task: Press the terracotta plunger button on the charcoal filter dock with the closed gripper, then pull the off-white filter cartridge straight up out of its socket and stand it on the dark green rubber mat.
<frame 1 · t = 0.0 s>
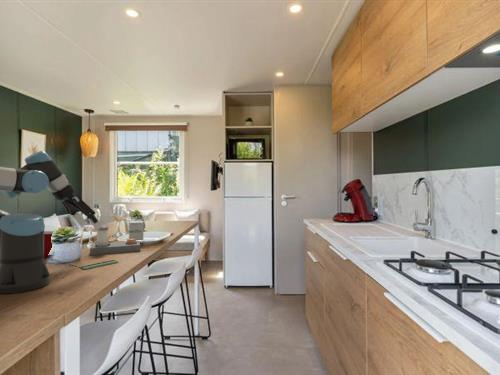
hand: (91, 226, 128), 15 cm above the counter, tool tilted 35°, fingers open, 13 cm apart
plastic cup: (45, 257, 136), on the counter
plunger: (131, 242, 150), point 4 cm above the counter, slide at 0.0 cm
supplement box: (136, 243, 169), on the counter
dock: (116, 252, 147), on the counter
mat: (93, 263, 126), on the counter
cartridge: (102, 251, 144), point 1 cm above the counter, touching dock
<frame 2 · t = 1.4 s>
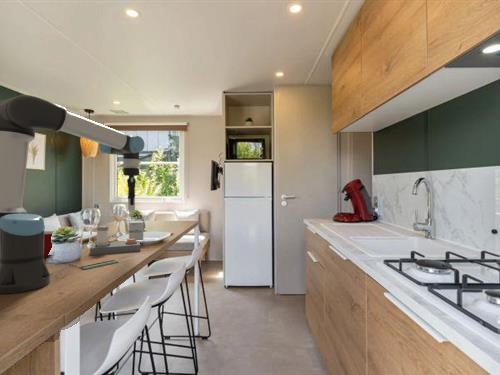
hand: (131, 210, 149), 21 cm above the counter, tool pointing down, fingers open, 11 cm apart
nothing on the counter moved.
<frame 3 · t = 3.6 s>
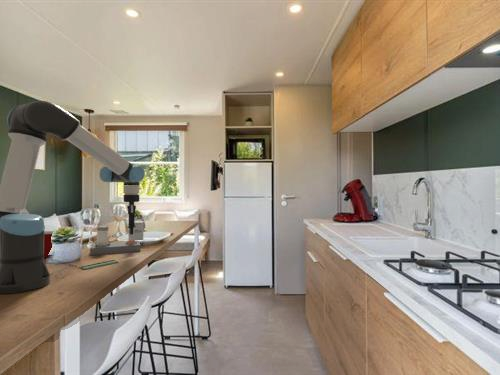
hand: (131, 240, 150), 5 cm above the counter, tool pointing down, fingers closed
plunger: (131, 244, 150), point 3 cm above the counter, slide at 0.8 cm, touching gripper
everything else where it was.
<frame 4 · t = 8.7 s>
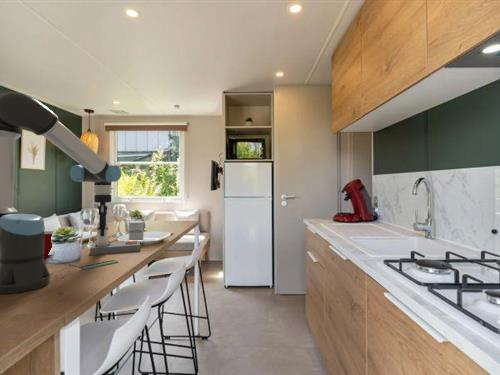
hand: (102, 241, 144), 6 cm above the counter, tool pointing down, fingers closed on cartridge, 5 cm apart
plunger: (131, 244, 150), point 3 cm above the counter, slide at 1.0 cm
cartridge: (102, 251, 144), point 1 cm above the counter, touching dock, gripper
everything else where it was.
when the fingers open (7 cm above the counter, at t = 15.5 s): cartridge drops 2 cm, resting on mat.
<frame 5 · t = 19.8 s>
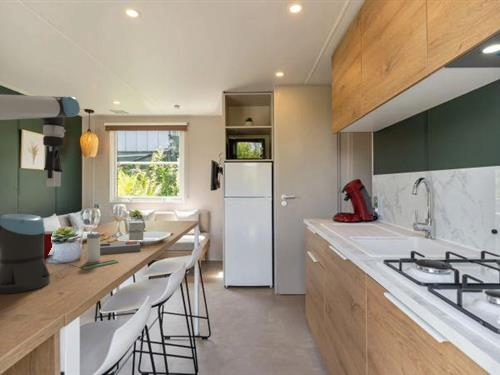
hand: (53, 186, 126), 33 cm above the counter, tool pointing down, fingers open, 13 cm apart
cartridge: (93, 261, 126), point 1 cm above the counter, touching mat
everything else where it was.
at the end: plunger slide at 1.0 cm; cartridge inside the target area on the mat (0.0 cm from its centre), point 0.6 cm above the mat's base; cartridge tilted 0° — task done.
